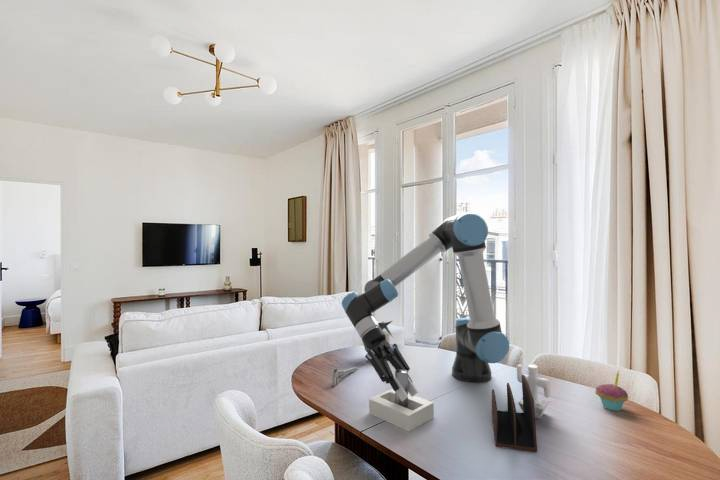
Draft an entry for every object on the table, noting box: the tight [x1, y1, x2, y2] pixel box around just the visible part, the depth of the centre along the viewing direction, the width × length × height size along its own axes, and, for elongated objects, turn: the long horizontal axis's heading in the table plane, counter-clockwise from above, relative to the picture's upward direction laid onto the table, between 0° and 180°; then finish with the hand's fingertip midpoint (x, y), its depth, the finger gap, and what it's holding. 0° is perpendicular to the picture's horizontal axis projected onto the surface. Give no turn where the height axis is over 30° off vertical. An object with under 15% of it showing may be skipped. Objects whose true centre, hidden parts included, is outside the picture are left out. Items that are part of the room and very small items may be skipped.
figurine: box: [516, 363, 551, 420], centre depth 111 cm, size 7×9×15 cm
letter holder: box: [491, 375, 538, 453], centre depth 102 cm, size 10×20×14 cm, turn 163°
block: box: [368, 388, 435, 432], centre depth 111 cm, size 16×12×4 cm
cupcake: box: [594, 370, 629, 412], centre depth 115 cm, size 9×8×12 cm
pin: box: [394, 369, 409, 408], centre depth 111 cm, size 4×4×12 cm
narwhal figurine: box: [360, 320, 393, 354], centre depth 167 cm, size 14×15×18 cm
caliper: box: [331, 366, 358, 387], centre depth 144 cm, size 21×1×6 cm, turn 156°
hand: (410, 396), depth 109 cm, fingers closed on pin, 4 cm apart
